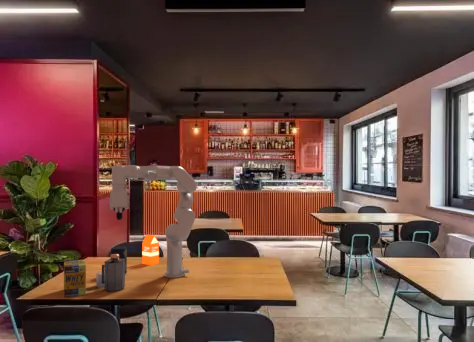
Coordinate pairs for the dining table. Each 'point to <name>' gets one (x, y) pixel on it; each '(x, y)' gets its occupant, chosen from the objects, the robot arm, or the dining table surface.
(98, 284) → the glossy white dome
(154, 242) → the orange juice
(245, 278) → the dining table surface
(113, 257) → the plunger
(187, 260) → the dining table surface
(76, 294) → the protein box
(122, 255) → the canister
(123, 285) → the carafe
